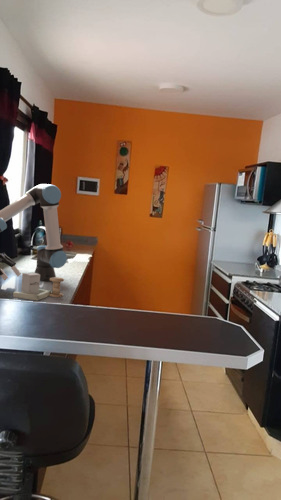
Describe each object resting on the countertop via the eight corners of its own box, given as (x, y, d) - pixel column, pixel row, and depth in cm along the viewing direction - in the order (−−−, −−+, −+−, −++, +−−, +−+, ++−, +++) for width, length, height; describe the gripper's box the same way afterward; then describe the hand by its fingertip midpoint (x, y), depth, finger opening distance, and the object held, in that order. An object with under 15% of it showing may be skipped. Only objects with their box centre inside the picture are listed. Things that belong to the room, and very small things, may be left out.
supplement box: (28, 297, 228) (29, 275, 227) (20, 294, 233) (21, 272, 232) (39, 295, 234) (40, 274, 233) (31, 293, 239) (33, 271, 237)
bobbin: (52, 293, 243) (53, 276, 242) (65, 295, 241) (66, 278, 240) (46, 295, 235) (47, 278, 234) (58, 298, 233) (60, 280, 232)
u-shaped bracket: (28, 291, 242) (28, 287, 242) (51, 294, 239) (51, 290, 238) (13, 296, 227) (13, 292, 227) (37, 300, 223) (37, 296, 223)
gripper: (-1, 250, 250) (20, 277, 249) (-27, 255, 226) (-4, 285, 225) (7, 242, 249) (28, 269, 247) (-19, 246, 225) (4, 276, 223)
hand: (13, 277), depth 236 cm, fingers open, 13 cm apart
